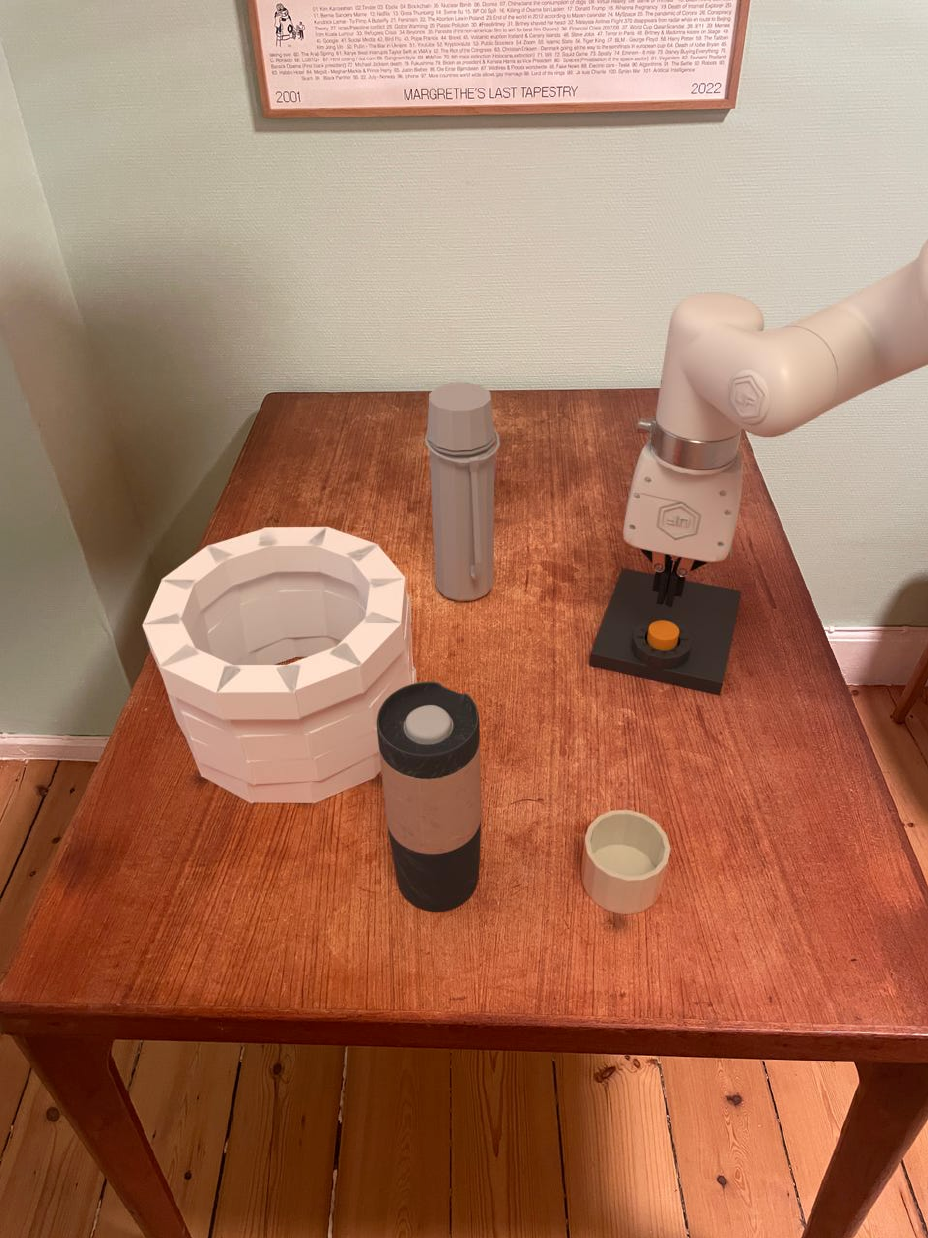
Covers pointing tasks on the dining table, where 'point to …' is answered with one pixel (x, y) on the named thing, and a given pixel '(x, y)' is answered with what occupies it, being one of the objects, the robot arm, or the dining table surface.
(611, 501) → the dining table surface
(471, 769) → the travel mug
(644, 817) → the bowl
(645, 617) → the scale
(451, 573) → the water bottle
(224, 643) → the container
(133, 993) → the dining table surface
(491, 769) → the dining table surface
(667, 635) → the button
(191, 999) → the dining table surface
